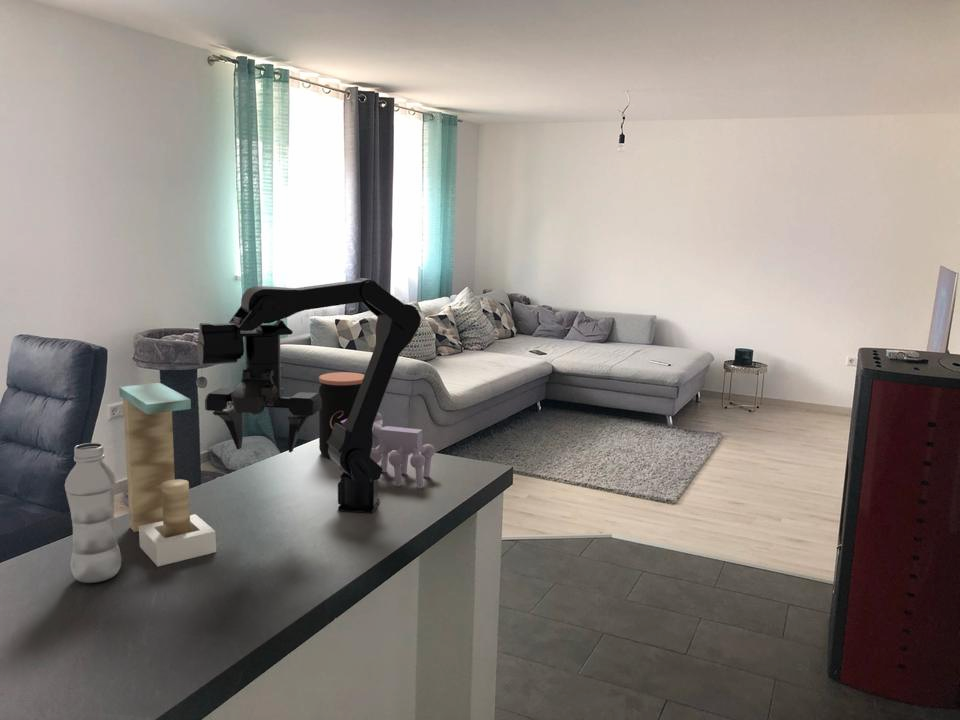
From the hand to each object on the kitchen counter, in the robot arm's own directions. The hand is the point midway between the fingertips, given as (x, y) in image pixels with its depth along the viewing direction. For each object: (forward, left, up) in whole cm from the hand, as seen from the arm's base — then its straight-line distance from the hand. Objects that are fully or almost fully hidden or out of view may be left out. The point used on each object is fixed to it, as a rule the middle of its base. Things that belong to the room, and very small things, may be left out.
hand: (265, 450), depth 134 cm
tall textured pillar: (+14, +9, -13) cm, 21 cm away
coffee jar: (-2, -42, -13) cm, 44 cm away
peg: (+9, +13, -13) cm, 21 cm away
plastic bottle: (+16, +25, -13) cm, 32 cm away
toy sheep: (-15, -27, -13) cm, 34 cm away
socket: (+9, +13, -13) cm, 21 cm away
